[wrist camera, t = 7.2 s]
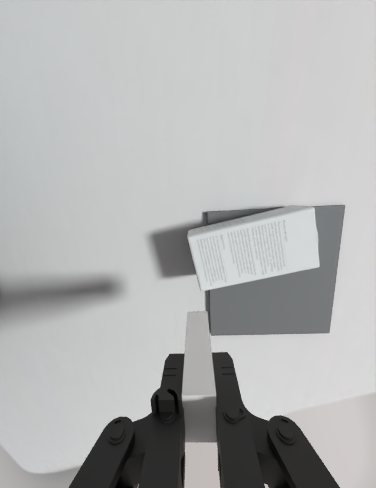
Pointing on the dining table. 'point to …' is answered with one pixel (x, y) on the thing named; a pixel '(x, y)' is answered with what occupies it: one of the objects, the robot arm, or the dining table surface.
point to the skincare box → (255, 247)
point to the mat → (282, 287)
